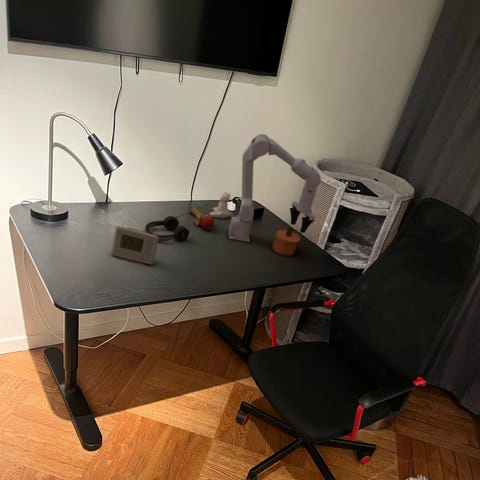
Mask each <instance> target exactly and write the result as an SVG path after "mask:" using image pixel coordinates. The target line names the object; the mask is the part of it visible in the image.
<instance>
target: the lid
mask: <svg viewBox="0 0 480 480" xmlns="http://www.w3.org/2000/svg"><path fill="white" fill-rule="evenodd" d="M275 235H277V236H278V237H279V238H280V239H282V240H284V241H288V242H298V243H299V242H300V241H301V236H300V235H299V234H297V233H296V232H294V228H292V227H287V229H279V230H277V231H276V233H275Z"/></svg>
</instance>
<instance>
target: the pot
mask: <svg viewBox="0 0 480 480" xmlns="http://www.w3.org/2000/svg"><path fill="white" fill-rule="evenodd" d="M298 243H299V242H288V241H284V240H282V239H280V238H279V237H278V236H277V235H276V234H275V235H274V239H273V243H272V246H271V248H272V250H273V251H274V252H276V253H278V254H281V255H284V256H293V255H294V254H295V251H296V249H297V246H298Z"/></svg>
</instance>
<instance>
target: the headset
mask: <svg viewBox="0 0 480 480" xmlns="http://www.w3.org/2000/svg"><path fill="white" fill-rule="evenodd" d="M186 215H193V212H192V211H190V212H189V213H184V214H182V215H180V216H173V215H169V216H166V217H165V218H164V219H163V220H155V221H151V222H149V223H147V224H146V225H145V228H144V232H147V233H149V234H153V235H157V236H158V242H167V241H172V240H175V239H176V240H177V241H181V242H182V241H185V240H186V239H188V238H189V236H190V230H189V229H188V228H187V227H185V226H184V225H179V224H180V222H179V220H178V218H180V217H182V216H186ZM162 226H163V227H164V228H165V229H166V230H168V231H173V230H174V231H173V233H171V234H166V235H164V234H163V235H162V234H157V233H153V232H152V231H150V229H152V228H155V227H162Z"/></svg>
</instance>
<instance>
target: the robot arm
mask: <svg viewBox="0 0 480 480" xmlns="http://www.w3.org/2000/svg"><path fill="white" fill-rule="evenodd" d="M267 154H268V156H276V157H278V158H279V159H281V160H282V161H284V162H285V163H286V164H288V165H289V166H290V170H291V171H292V172H293V173H294V174H295V175H297V176H298V177H299V178H300V179H301V180H303V181H305V182H304V185H303V187H302V189H301V193H300V197H299V200H298V202H297V201H292V203H291V207H290V208H289V213H290V225H291V226H295V225H297V221H298V219H299V216H300V215H301V214H302V215H304V216H302V217H301V226H300V230H299V232H300V234H304V233H306V232H307V230H308V228H309V227H310V226H311V224H313V223H314V222H315V218H316V215H315V214H314V213H313V212H312V211H313V210H312V206H313V203H314V200H315V196H316V193H317V189H318V187H319V186H320V184H321V183H322V182H321V174H320V171H318V169H316V168H314V167H313V166H311V165H309V164H308V163H306V160H305V159H304V158H303V159H302V158H295V157H294V156H293V155H292V154H290V152H288V151H287V150H286V149H285V148H284V147H282V146H281V145H280V144H279V143H278V142H276V141H275V140H274V139H273V138H271V137H269V136H268V135H267V134H264V133H259V134H258V135H256V136H255V137H253V138H252V140H251V141H250V143H249V144H248V145H247V147H246V148H245V150H244V152H243V154H242V162H241V163H242V166H241V202H240V205H239V212H238V214H237V215H236V216H231V218H230V223H229V227H228V231H227V232H228V238H229V239H232V240H239V241H242V242H243V241H244V242H251V239H250V234H251V230H252V226H253V222H254V215H255V214H254V211H255V205H254V202H253V192H254V191H253V190H254V189H253V188H254V162H255V161H256V160H257V159H259V158H260V157H263V156H265V155H267Z"/></svg>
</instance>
